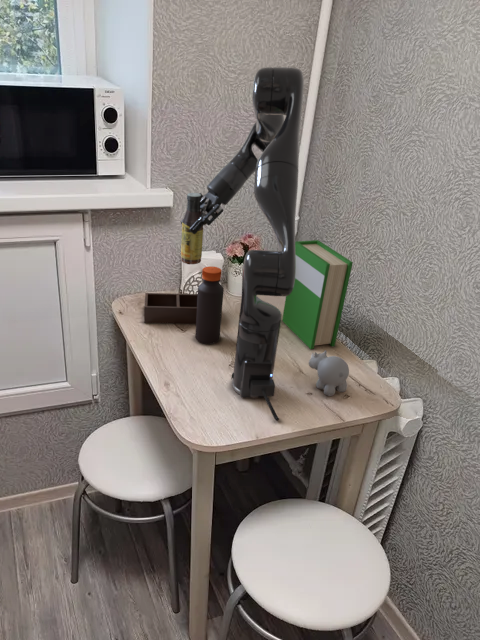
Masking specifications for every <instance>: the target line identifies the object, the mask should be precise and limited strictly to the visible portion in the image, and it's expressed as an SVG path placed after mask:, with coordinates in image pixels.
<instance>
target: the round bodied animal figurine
mask: <svg viewBox="0 0 480 640" xmlns="http://www.w3.org/2000/svg"><path fill="white" fill-rule="evenodd" d="M327 354H328V353H327V350H326V349H325V350H324V351H323V352H322V353H318V352H312V353H311V356H310V359H309V360H308V366H309V368H311V369H314V370H315V371H317V372H316V373H317V376H318V379H317V381H316V383H315V387H316V388H317V389H318V390H321V391H322V390H323V394H324V395H326V396H327V397H328V396H329V397H331V396H334V395H335V393H336V391H337V392H338V393H344V392H346V391H347V389H348V382H347V380H348V377H349V374H350V368H349V364H348V363H347V362H346V361H345V359H344V358H342V357H339V356H336V355H331V356H330V355H329V356H328V355H327Z"/></svg>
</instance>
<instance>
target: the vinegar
mask: <svg viewBox="0 0 480 640" xmlns="http://www.w3.org/2000/svg"><path fill="white" fill-rule="evenodd" d="M222 272H223V269H221V268H220V267H217V266H212V265H210V266H205V267H202V272H201V273H202V274H201V278H202V279H201V280H202V282H201V283H200V284H199V285H198V286H197V294H198V296H197V315H196V324H195V334H194V335H195V337H194V338H195V340H196V341H197V342H198V343H201V344H204V345H214V344H216V343H218V342H219V341H220V339H221V327H222V315H223V303H224V291H225V289H224V287H223V286H222V284H221V283H220V282H221V280H222Z"/></svg>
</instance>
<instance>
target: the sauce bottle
mask: <svg viewBox="0 0 480 640" xmlns="http://www.w3.org/2000/svg"><path fill="white" fill-rule="evenodd" d="M199 193H200V192H188V193H187V194H186V201H187V204H186V211H185V213H184V216H183V219H182V220H183V222H182V224H181V241H180V243H181V246H180V256H181V262H182V263H183V264H186V265H197V264H200V263H201V262H202V256H203V242H204V241H203V240H204V239H203V238H204V225H203V226H202V227H201V228H200V229H199V231H198V232H197V233H196V234H193V233H192V232H191V231H190V230H189V229H190V227H191V226H192V225H193V224H194V223H195V222H196V221H197V219H198V220H199V217H200V215H201V213H200V201H201V194H202V193H201V194H199Z"/></svg>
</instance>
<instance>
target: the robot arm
mask: <svg viewBox="0 0 480 640" xmlns="http://www.w3.org/2000/svg"><path fill="white" fill-rule="evenodd" d="M304 79H305V78H304V75H303V72H302V70H301V69H300V68H298V67H286V66H285V67H284V66H283V67H281V66H274V67H272V66H266V67H261V68H260V69H258V70H257V71H256V73H255V75H254V78H253V83H252V91H251V92H252V94H251V96H252V98H251V99H252V102H251V103H252V108H253V113H254V117H255V120H256V121H255V122H254V124H253V125H252V127H251V129H250V131H249V133H248V135H247V137H246V139H245V140H244V143H243V144H242V146H241V147H240V149H239V150H238V151H237V153H236V154H235V155H234V156H233V157H232V158H231V159H230V161H229V162H228V163H227V164H226V165H225V166H223V168H221V170H220V171H219V172H218V173H217V174H216V175H215V177H213V179H212V180H210V182H209V183H208V184H207V186H206V189H207V190H208V191H207V192H206V193H205V194H204V195H203V194H202V193H201V192H198V193H199V194H201V201H200V213H201V215H200V217H199V220H198V219H197V221H196V222H195V223H194V224H193V225H192V226H191V227H190V229H189V230H190V231H191V232H192V233H193V234H196V233H197V232H198V231H199V229H200V228H201V227H202V226H203V227H204V226H206V225H207V226H210V225H211V224H212V223H214V221H216V219H218V218H219V216H220V215H221V214H222V213H224V208H223V207H222V206H227V205H228V204H229V202H230V201H231V200H232V199H233V198H234V197H235V196H236V195H237V193H239V191H240V190H241V189H242V188H243V186H244V185H245V184H246V182H247V181H248V180H249V179H250V178H251V177H252V175H254V184H253V185H254V186H253V187H254V188H253V194H254V198H255V201H256V203H257V206H258V207H259V209H260V210H261V212H262V214H263V215H264V217H265V218H266V220H267V222H268V223H269V225H270V227H271V229H272V231H273V233H274V236H275V239H276V243H277V246H278V250H266V249H265V250H264V249H250V250H248V251H247V252H246V254H245V256H244V259H243V264H242V274H241V276H242V279H241V299H240V308H239V317H238V325H237V326H238V327H237V334H236V335H237V336H236V344H235V355H234V364H233V372H232V374H231V378H230V380H232V381H231V382H232V383H231V388H232V390H233V391H234V392H235V393H237V394H238V395H240V398H245V399H246V398H248V399H249V398H250V399H253V398H254V399H264V400H265V402H266V404H267V406H268V408H269V410H270V412H271V415H272V416H273V418H274V420H275V421H276V422H278V421H279V420H280V418H279V416H278V415H277V413H276V411H275V408H274V406H273V405H272V403H271V401H270V399H269V397H274V396H275V390H276V383H275V380H274V379H273V377H274V370H275V364H276V358H277V350H278V344H279V337H280V331H281V325H282V319H283V314H282V312H281V310H280V309H279V308H277V307H276V306H275V305H273V304H271V303H269V302H267V301H265V300H263V299H261V298H260V297H259V296H265V297H266V296H267V297H268V296H269V297H286V296H288V295H290V294H291V293H292V291H293V288H294V284H295V275H296V252H295V242H296V214H297V213H296V212H297V201H298V189H299V160H300V159H299V158H300V157H299V156H300V155H299V151H300V149H299V148H300V130H301V129H300V128H301V120H302V119H301V118H302V110H303V103H304V89H305V81H304ZM254 146H255V147H256V148H257V149H258V150H259V151H261V154H260V156H259V157H257V156H256V155H255V153H254V151H253V147H254ZM221 205H222V206H221ZM182 222H183V219H182V220H181V221H180V224H181V225H182Z"/></svg>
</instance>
